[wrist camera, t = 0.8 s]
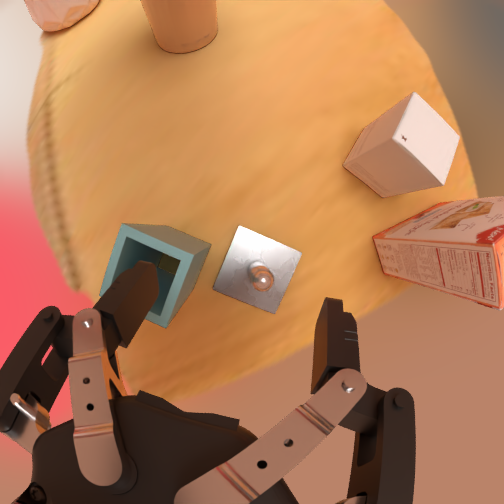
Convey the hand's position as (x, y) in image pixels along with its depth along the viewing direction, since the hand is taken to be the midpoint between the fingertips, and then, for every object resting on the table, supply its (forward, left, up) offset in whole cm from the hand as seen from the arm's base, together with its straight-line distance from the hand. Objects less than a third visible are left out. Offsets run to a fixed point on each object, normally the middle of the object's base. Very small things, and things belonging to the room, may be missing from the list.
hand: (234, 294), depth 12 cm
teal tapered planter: (-3, -6, -20) cm, 21 cm away
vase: (-57, -8, -21) cm, 61 cm away
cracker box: (+9, +23, -21) cm, 32 cm away
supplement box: (-3, +22, -21) cm, 30 cm away
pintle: (+3, +1, -20) cm, 21 cm away
